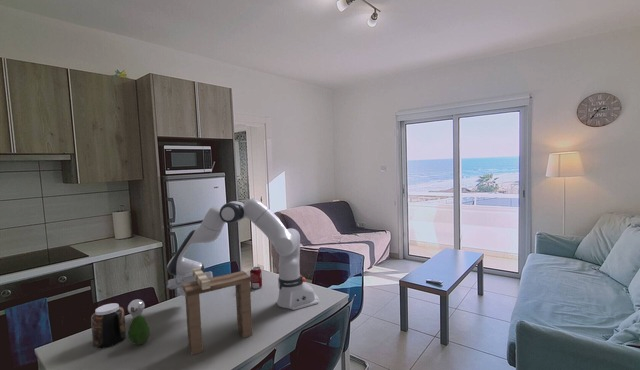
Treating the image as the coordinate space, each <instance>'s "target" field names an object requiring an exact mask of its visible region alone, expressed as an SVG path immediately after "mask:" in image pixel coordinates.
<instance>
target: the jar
mask: <svg viewBox="0 0 640 370" xmlns="http://www.w3.org/2000/svg"><path fill="white" fill-rule="evenodd" d="M94 311H95V312H94V313H93V314H92V315H91V317H90V323H91V325H90V327H91V337H92V346H93V348H95V349H106V348H111V347H114V346H115V345H118V344H119V343H122V342H123V341H124V340H125V339H126V338H127V332H126V329H127V328H126V318H125V317H126V315H125V310H124V308H123V307H121V306H120V305H119V303H115V302H114V303H112V302H111V303H107V304H103V305H101V306H99V307H97V308H95V310H94Z"/></svg>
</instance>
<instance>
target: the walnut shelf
mask: <svg viewBox="0 0 640 370" xmlns="http://www.w3.org/2000/svg"><path fill="white" fill-rule="evenodd" d="M208 279H209V280H210V288H209V289H205V290H202V288H201V287H200V285H199V284H198V283H197V281H194V282H189V283H184V284H182V285H183V290H184V292H185V296H184V297H185V298H184V299H185V313H186V328H187V329H186V330H187V332H186V333H187V343H188V344H187V345H188V346H187V347H188V348H189V351H190V353H191V356H194V355H197V354H200V353H202V352H203V337H202V334H203V333H202V320H201V319H202V317H201V302H200V301H201V300H200V295H201V294H204V293H209V292H214V291H218V290H222V289H225V288H230V287H233V286H235V300H236V301H235V303H236V322H237V323H236V324H237V325H236V326H237V331H238V333H239V334H240V335H241V336H242V338H243V339H246V338H248V337H251V336H253V322H252V321H253V319H252V299H251V298H252V297H251V296H252V295H251V277H250V274H247V272H245V271H244V270H241V271H236V272H235V271H234V272H232V273H228V274H223V275H217V276H213V277H212V278H208Z"/></svg>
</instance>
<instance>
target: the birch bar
mask: <svg viewBox="0 0 640 370" xmlns="http://www.w3.org/2000/svg"><path fill="white" fill-rule="evenodd" d="M192 273H193V277H194V278H195V280H196V281H197V283H198V284H199V285H200V287H201V288H202V290H205V289H209V288H210V280H209V279H208V278H207V276H206V275H205V274H204V273H203V272H202V270H201V269H200V268H194V269H192Z"/></svg>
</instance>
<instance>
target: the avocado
mask: <svg viewBox="0 0 640 370" xmlns="http://www.w3.org/2000/svg"><path fill="white" fill-rule="evenodd" d="M150 332H151V331H150V326H149V324H148V322H147V320H146V318H145V317H144V316H141V315H138V316H136V317H135V318H134V319H133V318H132V320H131V322H130V324H129V328H128V332H127V338H128V340H129V342H130V343H132V344H134V345H142V344H144V343H146V341H147V340H148V339H149V335H150Z"/></svg>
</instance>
